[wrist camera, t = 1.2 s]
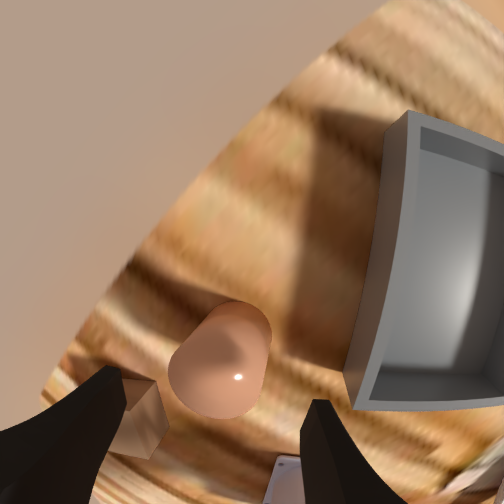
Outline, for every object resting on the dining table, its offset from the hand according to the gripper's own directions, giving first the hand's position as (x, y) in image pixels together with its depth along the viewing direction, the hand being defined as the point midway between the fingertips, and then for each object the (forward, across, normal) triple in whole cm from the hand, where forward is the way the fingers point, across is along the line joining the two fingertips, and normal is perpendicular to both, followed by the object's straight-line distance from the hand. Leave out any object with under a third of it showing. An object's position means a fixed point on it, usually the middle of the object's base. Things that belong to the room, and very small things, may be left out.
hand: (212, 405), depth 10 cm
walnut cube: (+10, +8, +13) cm, 18 cm away
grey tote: (+10, -15, -3) cm, 19 cm away
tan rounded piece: (+11, 0, +4) cm, 11 cm away
